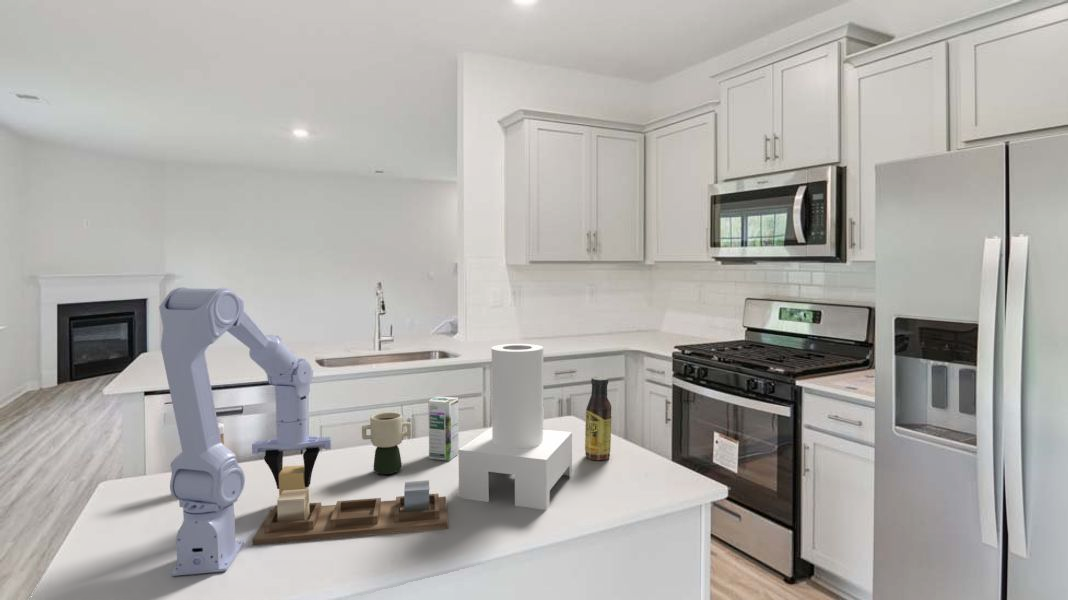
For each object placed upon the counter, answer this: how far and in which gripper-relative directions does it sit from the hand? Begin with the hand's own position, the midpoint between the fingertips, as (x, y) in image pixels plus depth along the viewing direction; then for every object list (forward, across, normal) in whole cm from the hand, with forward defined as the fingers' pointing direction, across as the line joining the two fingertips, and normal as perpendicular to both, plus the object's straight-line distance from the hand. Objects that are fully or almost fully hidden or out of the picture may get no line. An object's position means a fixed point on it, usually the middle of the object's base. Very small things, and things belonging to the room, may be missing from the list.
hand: (294, 486), depth 115 cm
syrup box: (+4, -30, -23) cm, 38 cm away
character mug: (+4, -17, -15) cm, 23 cm away
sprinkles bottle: (+4, +19, -13) cm, 23 cm away
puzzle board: (+4, -13, +10) cm, 17 cm away
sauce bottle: (+4, -67, -15) cm, 69 cm away
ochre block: (+2, 0, 0) cm, 2 cm away
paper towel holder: (+4, -45, -1) cm, 45 cm away
